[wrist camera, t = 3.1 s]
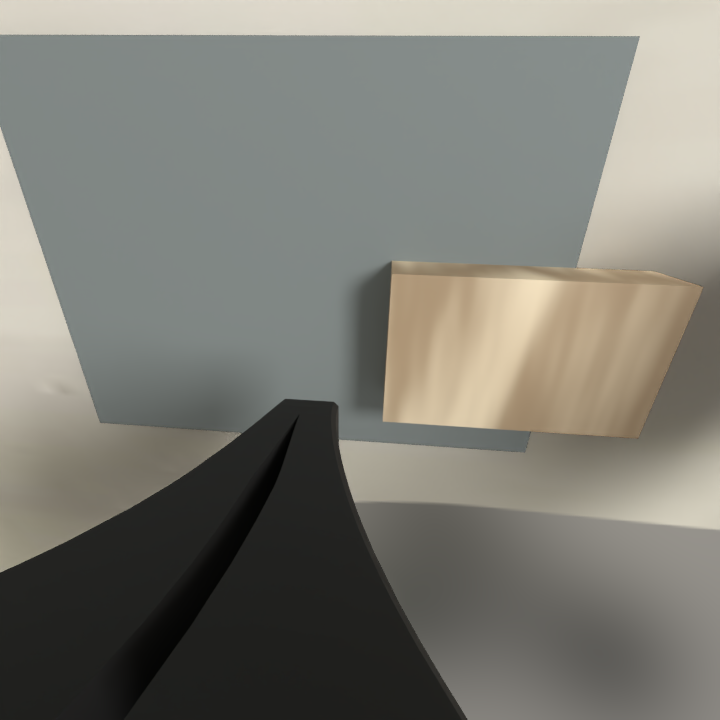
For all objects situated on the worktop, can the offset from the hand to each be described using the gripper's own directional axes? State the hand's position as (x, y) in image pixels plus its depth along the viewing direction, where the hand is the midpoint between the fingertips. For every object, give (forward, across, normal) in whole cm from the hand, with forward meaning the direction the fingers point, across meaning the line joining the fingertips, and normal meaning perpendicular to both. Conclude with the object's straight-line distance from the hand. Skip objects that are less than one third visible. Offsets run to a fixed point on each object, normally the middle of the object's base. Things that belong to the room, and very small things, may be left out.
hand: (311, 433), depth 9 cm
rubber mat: (+8, +2, -2) cm, 9 cm away
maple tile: (+6, -2, 0) cm, 7 cm away
